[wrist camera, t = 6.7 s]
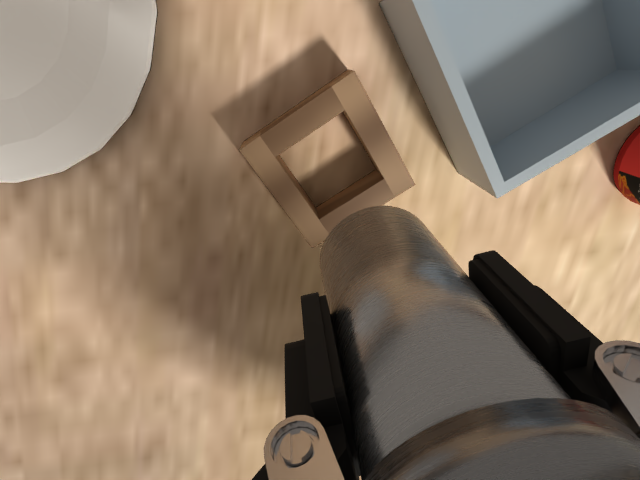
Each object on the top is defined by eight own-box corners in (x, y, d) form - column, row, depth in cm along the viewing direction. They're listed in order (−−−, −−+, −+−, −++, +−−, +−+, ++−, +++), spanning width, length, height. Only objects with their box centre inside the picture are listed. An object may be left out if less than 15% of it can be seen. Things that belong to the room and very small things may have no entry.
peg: (437, 180, 13) (757, 438, 4) (446, 296, 16) (667, 617, 7) (294, 214, 13) (327, 540, 4) (325, 326, 16) (387, 683, 7)
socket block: (404, 175, 30) (415, 184, 28) (309, 234, 31) (312, 248, 29) (347, 69, 26) (354, 70, 24) (242, 142, 27) (239, 150, 25)
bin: (623, 72, 28) (705, 76, 23) (458, 173, 30) (497, 198, 25) (578, -140, 22) (673, -202, 17) (378, 3, 24) (407, -12, 19)
